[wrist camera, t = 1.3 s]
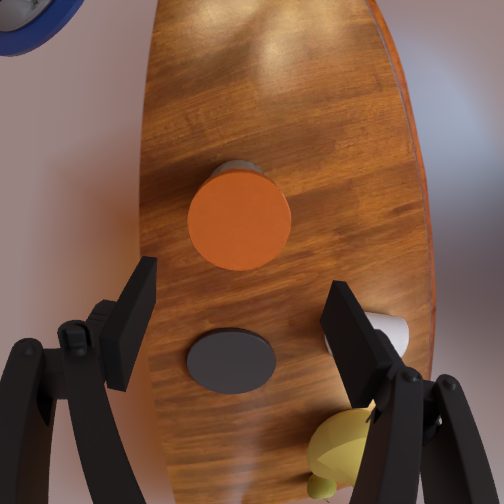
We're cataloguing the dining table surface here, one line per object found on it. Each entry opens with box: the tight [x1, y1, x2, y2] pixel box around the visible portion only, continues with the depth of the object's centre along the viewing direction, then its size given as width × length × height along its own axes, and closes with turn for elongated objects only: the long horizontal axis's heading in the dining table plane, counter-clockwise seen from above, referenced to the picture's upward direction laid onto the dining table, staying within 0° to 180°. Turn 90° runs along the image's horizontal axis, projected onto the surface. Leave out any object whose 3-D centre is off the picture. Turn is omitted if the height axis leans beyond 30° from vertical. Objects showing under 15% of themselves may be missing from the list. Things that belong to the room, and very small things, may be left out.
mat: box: [187, 328, 276, 394], centre depth 49 cm, size 14×14×1 cm
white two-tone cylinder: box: [325, 312, 409, 358], centre depth 45 cm, size 12×9×12 cm
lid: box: [187, 168, 291, 271], centre depth 28 cm, size 9×9×2 cm
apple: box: [307, 474, 336, 500], centre depth 65 cm, size 8×8×10 cm
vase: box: [307, 410, 371, 487], centre depth 50 cm, size 18×18×19 cm
